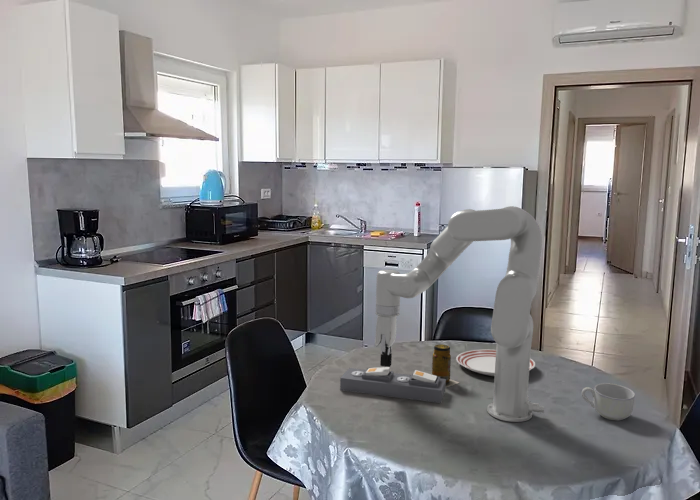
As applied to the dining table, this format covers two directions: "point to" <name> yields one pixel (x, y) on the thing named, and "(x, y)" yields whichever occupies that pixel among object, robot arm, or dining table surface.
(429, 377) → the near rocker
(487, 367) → the dinner plate
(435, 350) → the condiment
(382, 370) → the far rocker
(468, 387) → the dining table surface
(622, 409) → the teacup
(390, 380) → the rocker switch panel
